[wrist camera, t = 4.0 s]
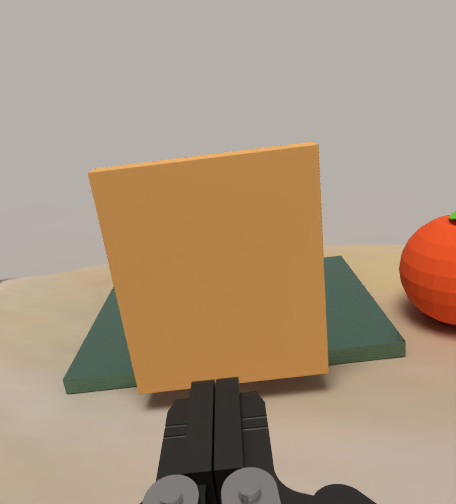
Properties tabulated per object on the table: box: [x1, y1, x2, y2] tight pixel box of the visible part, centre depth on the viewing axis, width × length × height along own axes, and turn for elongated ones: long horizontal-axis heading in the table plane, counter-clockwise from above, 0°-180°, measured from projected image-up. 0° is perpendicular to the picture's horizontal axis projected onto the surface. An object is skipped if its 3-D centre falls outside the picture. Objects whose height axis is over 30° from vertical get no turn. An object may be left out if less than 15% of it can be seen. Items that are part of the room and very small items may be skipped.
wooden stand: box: [88, 142, 329, 394], centre depth 26 cm, size 10×10×12 cm
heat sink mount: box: [63, 256, 405, 394], centre depth 30 cm, size 20×14×11 cm
